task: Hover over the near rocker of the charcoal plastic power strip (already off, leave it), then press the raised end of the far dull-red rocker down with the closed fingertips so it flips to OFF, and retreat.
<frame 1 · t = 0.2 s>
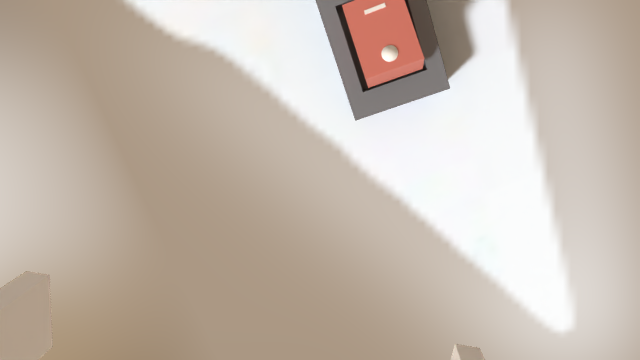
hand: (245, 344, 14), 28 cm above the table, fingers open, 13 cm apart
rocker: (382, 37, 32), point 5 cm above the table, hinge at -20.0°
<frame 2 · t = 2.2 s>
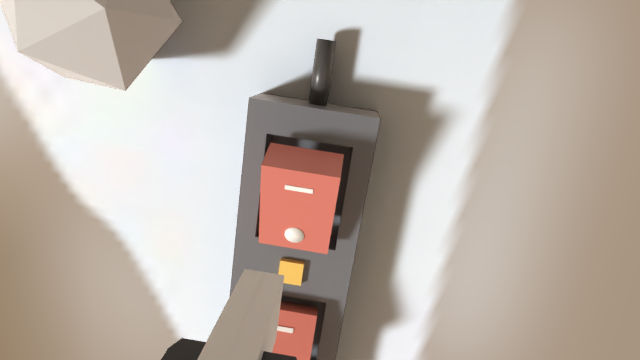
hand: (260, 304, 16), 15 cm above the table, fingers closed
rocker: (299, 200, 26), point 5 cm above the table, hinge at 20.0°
power strip: (297, 248, 32), on the table
die: (129, 15, 28), on the table
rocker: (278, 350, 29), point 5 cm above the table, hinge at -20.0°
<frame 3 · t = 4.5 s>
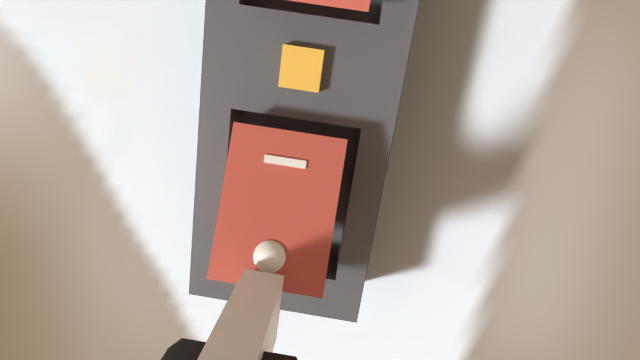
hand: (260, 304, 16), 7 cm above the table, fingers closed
power strip: (311, 65, 20), on the table
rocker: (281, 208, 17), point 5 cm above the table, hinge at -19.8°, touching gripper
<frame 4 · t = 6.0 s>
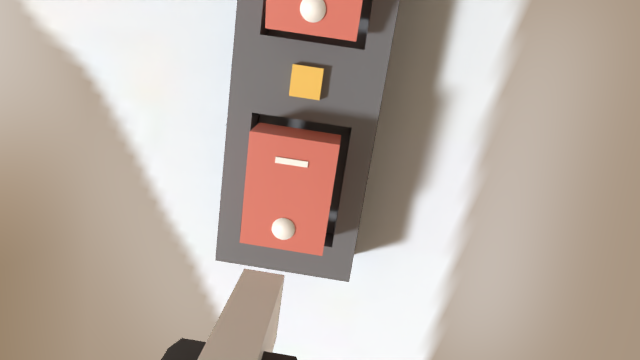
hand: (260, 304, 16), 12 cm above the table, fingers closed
power strip: (312, 79, 25), on the table
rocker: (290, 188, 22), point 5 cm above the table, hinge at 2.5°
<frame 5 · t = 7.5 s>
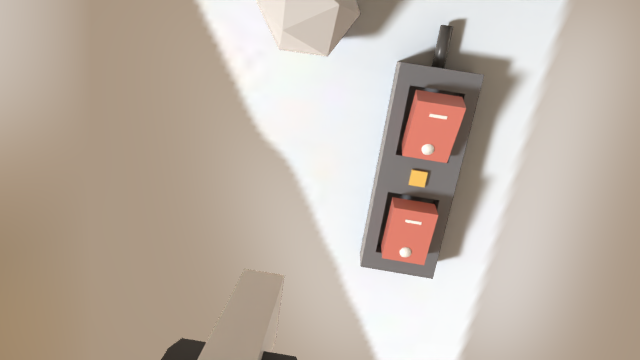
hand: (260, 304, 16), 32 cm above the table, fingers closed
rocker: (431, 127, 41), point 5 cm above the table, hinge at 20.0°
power strip: (413, 169, 47), on the table
die: (312, 10, 43), on the table
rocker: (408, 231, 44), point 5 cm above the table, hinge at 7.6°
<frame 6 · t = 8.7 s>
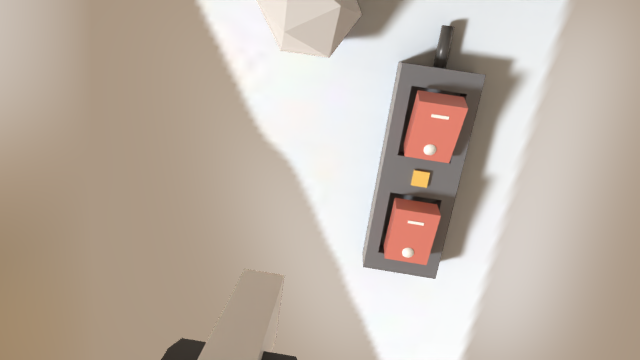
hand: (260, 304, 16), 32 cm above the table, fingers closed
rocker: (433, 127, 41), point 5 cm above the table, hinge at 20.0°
power strip: (415, 169, 47), on the table
die: (313, 11, 43), on the table
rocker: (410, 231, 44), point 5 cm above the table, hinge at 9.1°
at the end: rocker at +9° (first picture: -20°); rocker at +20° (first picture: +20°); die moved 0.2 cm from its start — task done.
